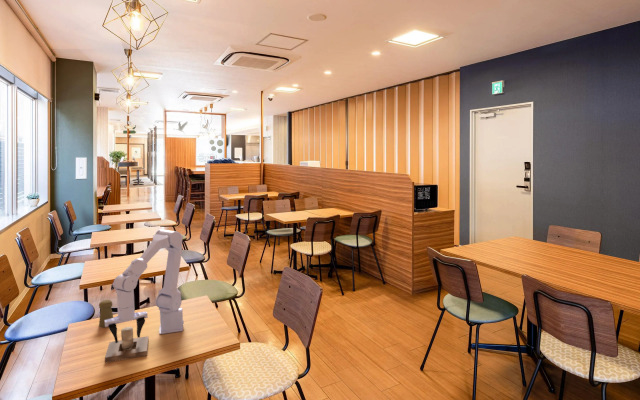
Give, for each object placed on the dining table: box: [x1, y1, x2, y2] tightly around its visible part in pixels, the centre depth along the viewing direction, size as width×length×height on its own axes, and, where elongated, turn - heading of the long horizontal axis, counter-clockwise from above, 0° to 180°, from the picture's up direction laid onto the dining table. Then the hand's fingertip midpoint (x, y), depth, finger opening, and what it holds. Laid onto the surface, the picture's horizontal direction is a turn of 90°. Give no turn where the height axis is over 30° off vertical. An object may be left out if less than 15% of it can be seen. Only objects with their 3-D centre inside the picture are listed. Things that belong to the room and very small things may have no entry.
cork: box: [98, 299, 114, 329], centre depth 165 cm, size 6×6×11 cm
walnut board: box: [104, 335, 149, 364], centre depth 144 cm, size 14×12×2 cm
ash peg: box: [120, 326, 135, 351], centre depth 143 cm, size 4×4×9 cm
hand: (127, 339), depth 143 cm, fingers open, 7 cm apart
